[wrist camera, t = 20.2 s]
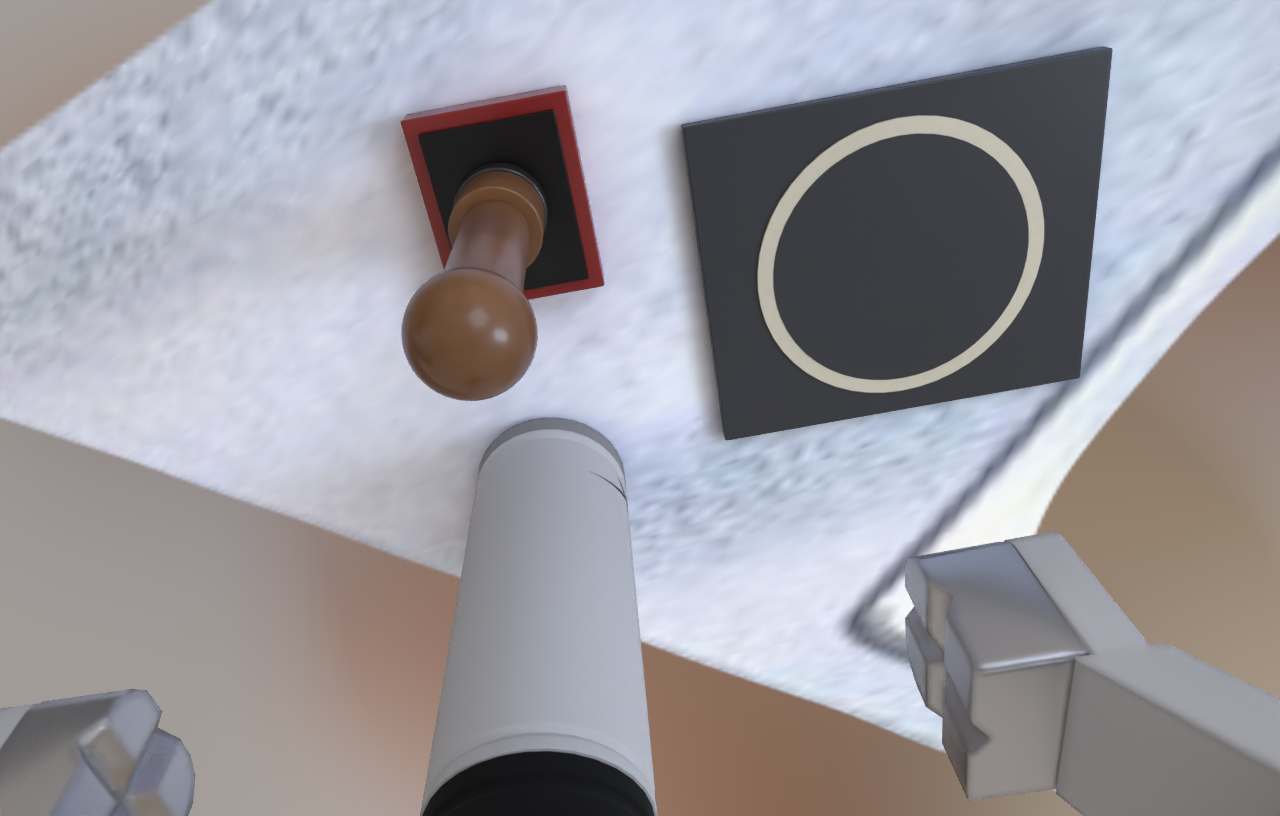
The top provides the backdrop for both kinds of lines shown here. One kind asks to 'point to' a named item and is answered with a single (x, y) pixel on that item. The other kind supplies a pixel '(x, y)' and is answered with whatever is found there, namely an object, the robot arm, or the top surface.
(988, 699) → the robot arm
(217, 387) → the top surface
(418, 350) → the dot stamp
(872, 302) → the dark grey square plate
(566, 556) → the travel mug
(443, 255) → the ink pad
